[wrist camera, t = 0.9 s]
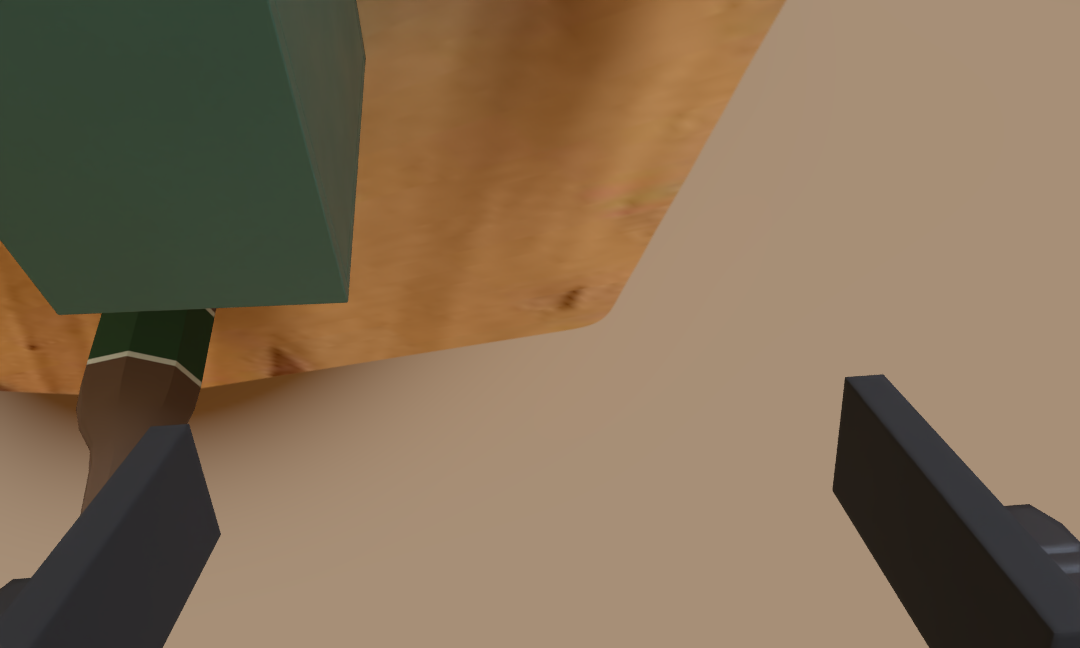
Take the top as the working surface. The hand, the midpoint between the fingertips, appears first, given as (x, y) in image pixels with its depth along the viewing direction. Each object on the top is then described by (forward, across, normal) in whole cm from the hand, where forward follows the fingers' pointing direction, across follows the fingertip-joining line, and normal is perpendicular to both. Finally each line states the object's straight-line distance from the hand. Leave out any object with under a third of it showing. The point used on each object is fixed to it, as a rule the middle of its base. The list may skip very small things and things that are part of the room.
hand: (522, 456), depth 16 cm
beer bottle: (+45, -28, -10) cm, 54 cm away
